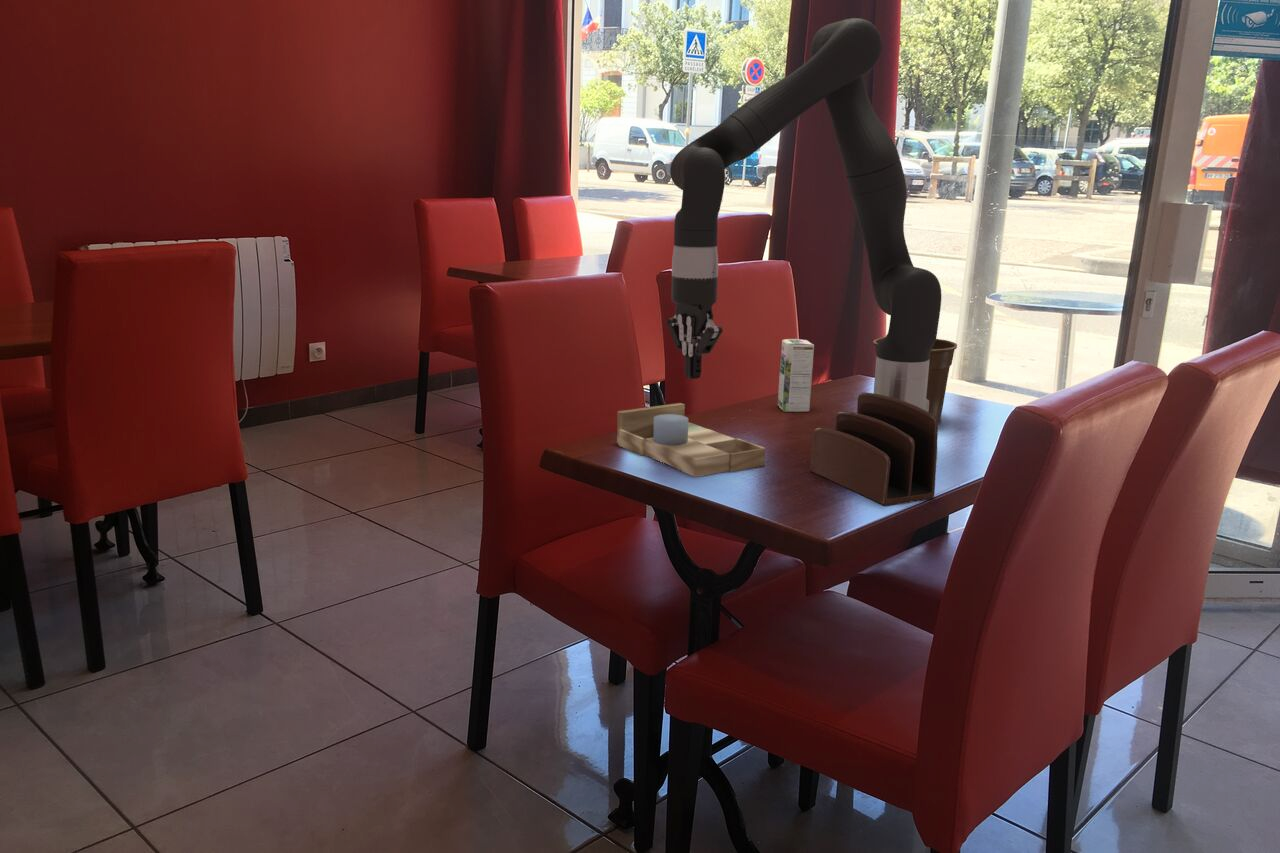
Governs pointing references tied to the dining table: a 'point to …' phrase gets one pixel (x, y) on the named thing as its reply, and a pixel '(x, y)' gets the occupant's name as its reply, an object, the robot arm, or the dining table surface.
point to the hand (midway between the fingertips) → (692, 377)
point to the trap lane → (686, 444)
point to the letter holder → (880, 450)
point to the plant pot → (937, 374)
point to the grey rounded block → (670, 429)
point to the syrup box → (795, 375)
